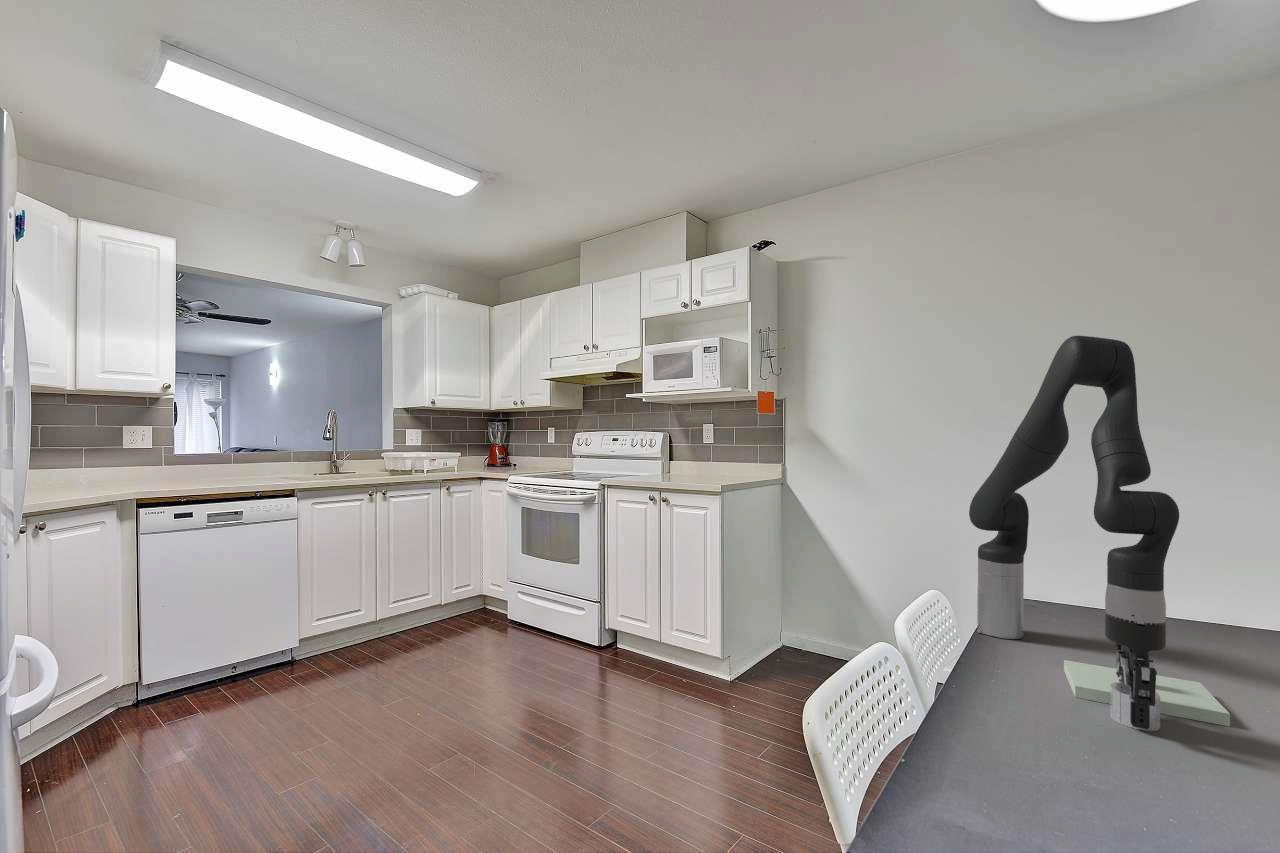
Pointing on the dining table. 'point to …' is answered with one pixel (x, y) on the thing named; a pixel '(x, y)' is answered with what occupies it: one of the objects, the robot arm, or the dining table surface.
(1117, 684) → the cylinder
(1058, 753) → the dining table surface
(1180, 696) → the post base
